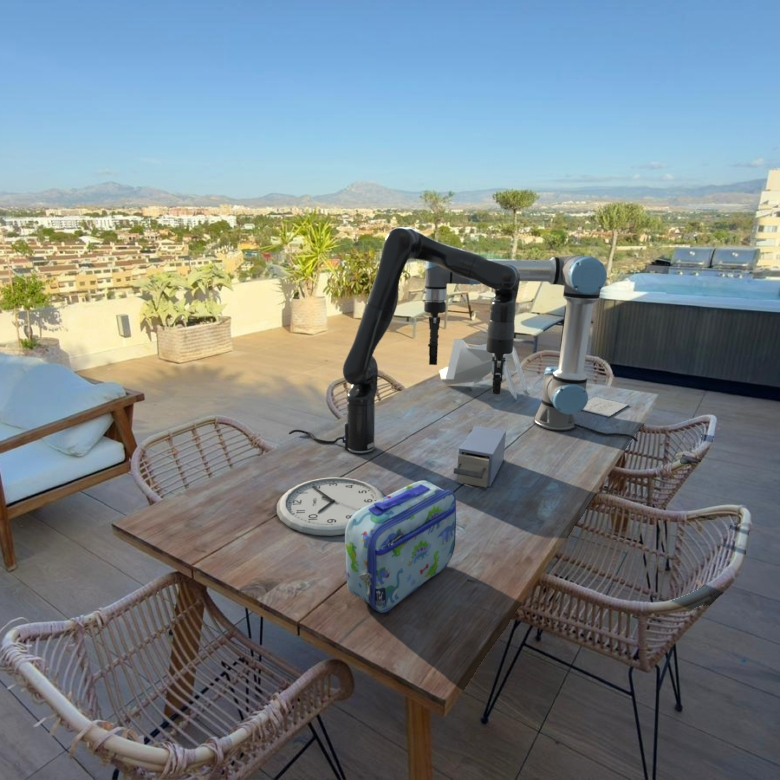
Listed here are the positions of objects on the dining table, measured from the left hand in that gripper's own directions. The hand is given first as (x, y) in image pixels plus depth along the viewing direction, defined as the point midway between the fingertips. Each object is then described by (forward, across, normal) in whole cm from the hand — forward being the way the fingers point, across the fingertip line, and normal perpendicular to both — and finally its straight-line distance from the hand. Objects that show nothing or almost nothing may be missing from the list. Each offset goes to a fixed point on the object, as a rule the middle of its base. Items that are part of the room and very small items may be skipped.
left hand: (496, 389), depth 155 cm
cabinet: (+27, -2, -2) cm, 28 cm away
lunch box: (+27, +58, -18) cm, 66 cm away
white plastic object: (+28, -84, -5) cm, 89 cm away
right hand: (0, -32, -22) cm, 39 cm away
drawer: (+26, +4, -4) cm, 27 cm away
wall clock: (+27, +29, -42) cm, 58 cm away
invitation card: (+27, -76, +47) cm, 94 cm away
